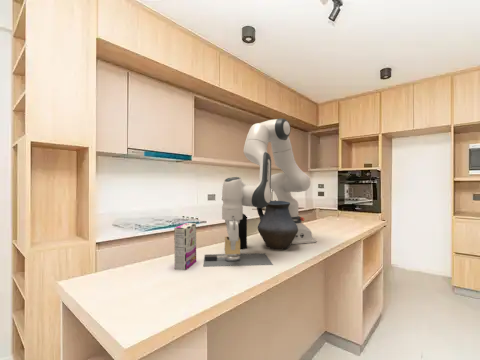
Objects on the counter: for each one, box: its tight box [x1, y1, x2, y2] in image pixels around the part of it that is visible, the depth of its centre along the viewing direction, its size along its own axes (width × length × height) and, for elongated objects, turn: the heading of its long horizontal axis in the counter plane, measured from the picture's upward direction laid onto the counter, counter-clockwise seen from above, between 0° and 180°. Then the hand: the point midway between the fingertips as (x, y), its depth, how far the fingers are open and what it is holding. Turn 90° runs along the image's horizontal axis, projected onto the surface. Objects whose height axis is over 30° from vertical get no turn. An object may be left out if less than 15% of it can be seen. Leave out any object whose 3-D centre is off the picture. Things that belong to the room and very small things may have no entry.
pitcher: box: [256, 200, 298, 251], centre depth 134 cm, size 21×22×25 cm
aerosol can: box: [238, 213, 248, 251], centre depth 132 cm, size 8×8×20 cm
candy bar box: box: [173, 222, 197, 271], centre depth 104 cm, size 11×5×16 cm, turn 168°
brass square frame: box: [224, 236, 241, 254], centre depth 112 cm, size 6×6×6 cm
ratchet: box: [204, 253, 241, 262], centre depth 111 cm, size 15×7×5 cm, turn 96°
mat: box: [202, 252, 274, 268], centre depth 112 cm, size 28×17×1 cm, turn 96°
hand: (232, 247), depth 112 cm, fingers closed on brass square frame, 6 cm apart
